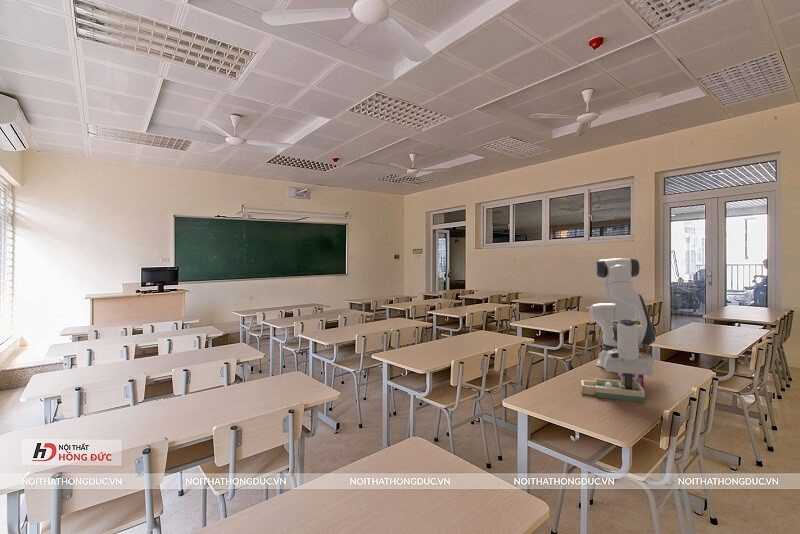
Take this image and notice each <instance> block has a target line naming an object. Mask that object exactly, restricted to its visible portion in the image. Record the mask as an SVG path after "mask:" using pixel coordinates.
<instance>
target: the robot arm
mask: <svg viewBox="0 0 800 534" xmlns="http://www.w3.org/2000/svg"><path fill="white" fill-rule="evenodd" d="M640 272H641V264H640V262H639V261H638V259H635V258H632V257H631V258H624V257H623V258H622V257H619V258H618V257H616V258H608V259H607V258H606V259H598V260H597V261H596V263H595V264H594V273H595V274H596V276H597V277H598V278H602V279H603V285H602V286H603V287H602V288H603V296H604V297H605V298H606V299H608V300H610V301H613V302H611V303H609V302H608V303H607V302H606V303H605V302H604V303H603V302H600V303H593V304H592V305H591V306H590V308H589V311H588V312H589V315H590V317H591V319H592V320H593V321H595V322H596V323H597V324H598V325H599V326H600V329H601V332H602V341H603V342H602V351H600V352H599V353H598V358H599V359H598V360H597V363H596V365H595V366H596V367H600V368H603V369H604V370H605V372H607V373H618V374H619V376H620V377H621V382H625V378H623V377H622V376H621V375H622V373H629V374H635V377H634V378H632V383H636V379H637V378H638V377H639V374H640V375H643V376H652V375H654V366H653V364H654V358H653V356H650V355H648V354H642V355H639V354H640V352H639V351H640V349H639V348H640V347H639V345H641V346H646V347H648V346H651V345H652V344H653V343H655V342H656V331H655V329H654V327H653V324H652V322H651V319H650V316H649V313H648V310H647V309H648V308H647V306H646V303H645V301H644V297H642V295H641V294H639V293H638V292H637V291H636V289H635V287H634V283H633V278H635V277H637V276H638V275H640ZM637 319H638V320H639V324H637V322H636V320H637ZM614 322H615V323H616V322H617V324H615V325H613V323H614ZM618 374H617V375H618Z"/></svg>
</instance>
